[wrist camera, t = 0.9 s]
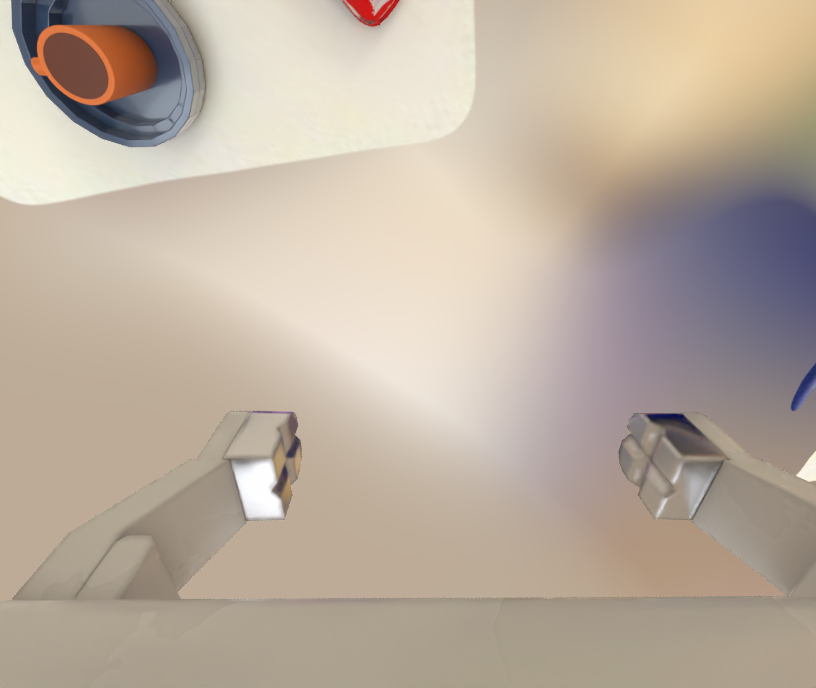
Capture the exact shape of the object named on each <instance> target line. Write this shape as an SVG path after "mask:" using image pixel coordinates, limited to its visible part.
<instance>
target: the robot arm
mask: <svg viewBox="0 0 816 688" xmlns="http://www.w3.org/2000/svg"><path fill="white" fill-rule="evenodd" d="M297 428H298V422H297V417H296V414H295V413H294V412H269V411H252V412H251V411H230V412H228V413H227V414H226V415H225V416H224V418H223V419H222V421H221V422H220V424H219V426H218V427H217V429H216V430H215V432H214V433H213V435H212V436H211V438H210V439H209V441H208V442H207V444H206V446H205V447H204V449H203V450H202V452H201V453H200V455H199V456H198V458H197V459H196V460H188V461H186V462H185V463H183V464H181V465H180V466H178V467H176V468H175V469H173V470H172V471H170V472H168V473H167V474H165V475H163V476H162V477H160V478H158V479H157V480H155V481H153V482H152V483H150V484H149V485H147V486H146V487H144V488H142V489H140V490H139V491H137V492H135V493H134V494H132V495H130V496H129V497H127V498H126V499H124V500H122V501H121V502H119V503H117V504H116V505H114V506H112V507H111V508H109V509H107V510H106V511H104V512H102V513H101V514H99V515H97V516H96V517H94V518H92V519H91V520H89V521H88V522H86V523H84V524H83V525H81V526H79V527H78V528H76V529H75V530H73V531H71V532H70V533H68V534H67V535H66V537H65V538H64V539H63V540H62V541H61V543H60V544H59V545H58V546H57V547H56V548H55V549H54V551H53V552H52V553H51V554H50V555H49V557H48V558H47V559H46V560H45V561H44V562H43V564H42V565H41V566H40V567H39V568H38V569H37V570H36V572H35V573H34V574H33V575H32V576H31V578H30V579H29V580H28V581H27V582H26V583H25V584H24V586H23V587H22V588H21V589H20V590H19V591H18V593H17V594H16V595H15V596H14V597H13V598H12V600H0V688H816V485H814V484H812V483H810V482H808V481H805V480H803V479H801V478H799V477H797V476H795V475H793V474H791V473H788V472H786V471H784V470H782V469H780V468H778V467H776V466H773V465H771V464H769V463H767V462H765V461H763V460H755V459H754V458H752V457H751V456H750V455H749V454H748V453H747V452H746V451H745V450H744V449H742V448H741V447H740V446H739V445H738V444H737V443H736V442H735V441H733V440H732V439H731V438H730V437H729V436H728V435H727V434H726V433H725V432H723V431H722V430H721V429H720V428H719V427H718V426H717V425H716V424H714V423H713V422H712V421H711V420H710V419H709V418H708V417H707V416H706V415H703V414H701V413H698V412H691V413H690V412H689V413H674V414H673V413H670V414H669V413H659V414H658V413H649V414H648V413H642V414H641V413H640V414H639V413H637V414H636V413H635V414H634V415H633V416H632V417H631V418H630V420H629V422H628V425H627V428H628V430H629V432H630V435H628V436H627V437H626V438H625V439H623V440H622V442H621V445H620V448H619V463H620V466H621V468H622V471H623V473H624V474H625V476H626V478H627V479H628V480H629V481H630V482H632V483H634V484H635V485H637V486H638V487H639V492H638V496H639V497H640V499H641V500H642V502H643V503H644V505H645V506H646V508H647V509H648V511H649V512H650V514H651V515H652V516H653V518H654V519H666V520H667V519H668V520H669V519H670V520H693V521H692V523H694V524H695V525H696V526H698V527H699V528H700V529H702V530H703V531H704V532H705V533H707V534H708V535H709V536H711V537H712V538H713V539H714V540H716V541H717V542H718V543H720V544H721V545H722V546H724V547H725V548H726V549H727V550H729V551H730V552H731V553H733V554H734V555H735V556H737V557H738V558H739V559H740V560H742V561H743V562H744V563H746V564H747V565H748V566H749V567H751V568H752V569H753V570H755V571H756V572H757V573H759V574H760V575H761V576H762V577H764V578H765V579H766V580H768V581H769V582H770V583H772V584H773V585H774V586H775V587H777V588H778V589H779V590H781V591H782V592H783V593H785V594H786V595H787V596H722V597H720V596H719V597H580V598H578V597H567V598H566V597H565V598H563V597H559V598H558V597H555V598H348V599H347V598H345V599H344V598H342V599H340V598H337V599H335V598H334V599H333V598H332V599H330V598H329V599H180V597H179V595H178V591H179V590H180V589H181V588H182V587H183V586H184V585H185V584H186V583H187V582H188V581H189V580H190V579H191V578H192V577H193V576H194V575H195V574H196V573H197V572H198V571H199V570H200V569H201V568H202V567H203V566H204V565H205V564H206V563H207V562H208V561H209V560H210V559H211V558H212V557H213V556H214V555H215V554H216V553H217V552H218V551H219V550H220V549H221V548H222V547H223V546H224V545H225V544H226V543H227V542H228V541H229V540H230V539H231V538H232V537H233V536H234V535H235V534H236V533H237V532H238V531H239V530H240V529H241V528H242V527H243V526H244V525H245V524H246V521H256V520H284V519H285V517H286V514H287V510H288V507H289V504H290V501H291V498H292V490H291V484H292V483H294V482H295V481H296V480H297V479H298V475H299V472H300V466H301V458H302V456H301V455H302V451H301V441H300V439H298V438H297V437H296V436H295V433H296V430H297Z"/></svg>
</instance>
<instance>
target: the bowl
mask: <svg viewBox="0 0 816 688" xmlns="http://www.w3.org/2000/svg"><path fill="white" fill-rule="evenodd" d="M11 4H12V29H13V32H14V35H15V38H16V40H17V43H18V46H19V49H20V51H21V54H22V57H23V60H24V62H25V65H26V66H27V68H28V69H29V71H30V72H31V74H32V75H33V77H34V78H35V80H36V81H37V83H38V84H39V86H40V87H41V89H42V90H43V92H44V93H45V94H46V95H47V97H48V98H49V99H50V100H51V101H52V102H53V103H54V104H55V105H57V106H58V107H59V108H60V109H61V110H62V111H63V112H64V113H65V114H66V115H67V116H68V117H69V118H70V119H71V120H72V121H74V122H75V123H77V124H78V125H80V126H82V127H83V128H85V129H87V130H88V131H90V132H92V133H93V134H95V135H97V136H98V137H100V138H102V139H105V140H108V141H112V142H115V143H118V144H122V145H125V146H128V147H148V146H157V145H159V144H161V143H163V142H165V141H167V140H169V139H171V138H173V137H175V136H177V135H179V134H180V133H182V132H183V131H185V130H187V129H188V128H189V126H190V125H191V124H192V122H193V121H194V120H195V118H196V117H197V116H198V114H199V113H200V111H201V107H202V102H203V98H204V93H205V79H204V72H203V64H202V59H201V56H200V54H199V51H198V49H197V47H196V44H195V42H194V40H193V37H192V35H191V33H190V30H189V28H188V26H187V25H186V24H185V22H184V21H183V20H182V18H181V17H180V16H179V14H178V13H177V12H176V10H175V9H174V8H173V6H172V5H171V4H170V2H169V1H168V0H11ZM53 25H118V26H122V27H125V28H127V29H129V30H131V31H133V32H134V33H136V34H137V35H138V36H139V37H141V38H142V39H143V41H144V42H145V43H146V44H147V45H148V47H149V48H150V50H151V52H152V54H153V56H154V58H155V61H156V65H157V77H156V81H155V83H154V84H153V86H152V87H151V88H149V89H148V90H145V91H142V92H139V93H136V94H133V95H129V96H126V97H123V98H120V99H116V100H113V101H110V102H107V103H104V104H100V105H87V104H83V103H80V102H77V101H75V100H73V99H71V98H70V97H68V96H67V95H65V94H64V93H63V92H61V91H60V90H59V89H58V88H57V87H56V86H55V85H54V84H53V83H52V82H51V80H50V79H49V78H48V76H42V75H39V74H38V73H37V72H36V71H35V70H34V68H33V66H32V64H31V59H32V58H33V57H38V53H37V42H38V38H39V36H40V34H41V33H42V31H43V30H45V29H46V28H48V27H50V26H53Z"/></svg>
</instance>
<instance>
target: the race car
mask: <svg viewBox="0 0 816 688" xmlns="http://www.w3.org/2000/svg"><path fill="white" fill-rule="evenodd" d="M398 1H399V0H342V2H343V3H344V4H345V5H346V6H347V8H348V9H349V10H350V11H351V13H352V14H353V15H354V16H355V17H356V18H357V19H358V20H359V21H360V22H362V23H364V24H365V25H368V26H372V27H373V26H377V25H380V23H381V22H382V21H384V20H385V19H386V18H387V17H388V15H389V14H390V13H391V12H392V10H393V9H394V8H395V6H396V5H397V3H398Z"/></svg>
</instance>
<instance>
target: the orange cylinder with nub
mask: <svg viewBox="0 0 816 688" xmlns="http://www.w3.org/2000/svg"><path fill="white" fill-rule="evenodd" d="M37 53H38V57H33V58H32V59H31V64H32V66H33V68H34V70H35V71H36V72H37V73H38V74H39V75H42V76H48V78H49V79H50V80H51V82H52V83H53V84H54V85H55V86H56V87H57V88H58V89H59V90H60V91H61V92H63V93H64V94H65V95H67V96H68V97H70V98H71V99H73V100H75V101H77V102H80V103H83V104H87V105H100V104H104V103H107V102H110V101H113V100H116V99H120V98H123V97H126V96H129V95H133V94H136V93H139V92H142V91H145V90H148V89H149V88H151V87H152V86H153V84H154V83H155V81H156V77H157V65H156V61H155V58H154V56H153V54H152V52H151V50H150V48H149V47H148V45H147V44H146V43H145V42H144V41H143V39H142V38H141V37H139V36H138V35H137V34H136V33H134V32H133V31H131V30H129V29H127V28H125V27H122V26H118V25H53V26H50V27H48V28H46V29H45V30H43V31H42V33H41V34H40V36H39V38H38V42H37Z"/></svg>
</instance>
